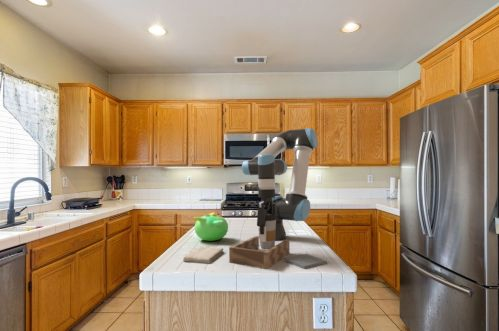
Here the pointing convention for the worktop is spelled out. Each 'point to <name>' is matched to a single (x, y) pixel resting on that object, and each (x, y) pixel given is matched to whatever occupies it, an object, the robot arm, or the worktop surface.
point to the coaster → (305, 261)
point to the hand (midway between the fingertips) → (267, 239)
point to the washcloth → (203, 254)
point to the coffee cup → (269, 232)
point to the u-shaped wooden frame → (257, 253)
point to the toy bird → (211, 227)
